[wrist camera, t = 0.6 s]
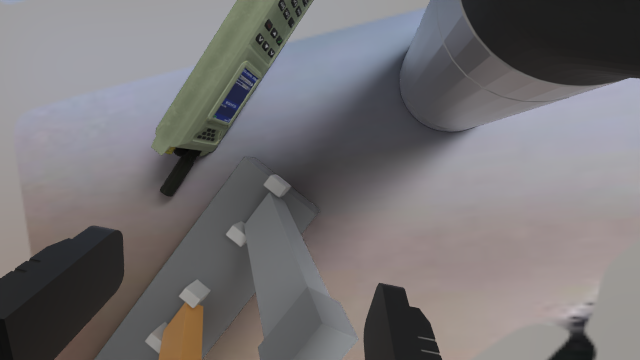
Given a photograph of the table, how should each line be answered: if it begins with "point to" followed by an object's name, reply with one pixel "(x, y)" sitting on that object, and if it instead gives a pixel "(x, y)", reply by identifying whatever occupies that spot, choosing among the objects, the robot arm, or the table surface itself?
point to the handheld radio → (224, 80)
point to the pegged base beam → (207, 266)
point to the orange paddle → (183, 335)
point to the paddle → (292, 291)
